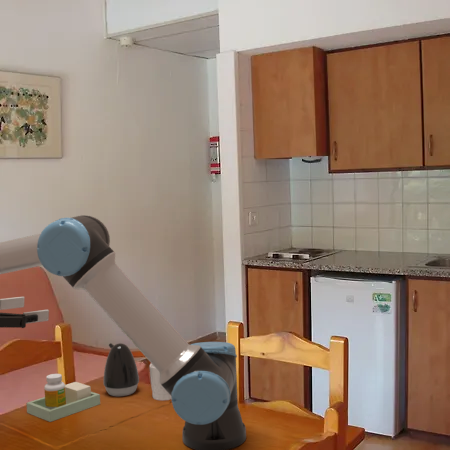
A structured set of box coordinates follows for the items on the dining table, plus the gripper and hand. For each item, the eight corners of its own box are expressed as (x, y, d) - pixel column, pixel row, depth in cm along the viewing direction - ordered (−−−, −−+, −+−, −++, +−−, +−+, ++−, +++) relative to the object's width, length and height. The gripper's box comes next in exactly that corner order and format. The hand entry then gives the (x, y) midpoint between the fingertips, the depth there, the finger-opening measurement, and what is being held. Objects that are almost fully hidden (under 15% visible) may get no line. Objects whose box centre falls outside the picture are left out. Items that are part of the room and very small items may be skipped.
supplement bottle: (60, 415, 168) (58, 379, 167) (42, 414, 169) (39, 378, 168) (69, 407, 173) (67, 372, 172) (51, 406, 174) (49, 372, 173)
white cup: (145, 399, 179) (143, 365, 179) (166, 392, 185) (164, 358, 184) (163, 405, 174) (162, 370, 173) (184, 397, 180) (183, 363, 179)
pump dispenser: (126, 386, 192) (124, 337, 191) (146, 394, 184) (144, 342, 183) (97, 395, 185) (94, 343, 184) (116, 403, 177) (114, 350, 176)
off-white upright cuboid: (91, 404, 175) (90, 386, 175) (77, 408, 172) (76, 390, 171) (76, 398, 180) (75, 381, 179) (62, 403, 176) (61, 385, 176)
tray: (100, 406, 175) (99, 394, 175) (50, 424, 163) (49, 411, 163) (76, 398, 182) (76, 386, 182) (27, 415, 170) (26, 402, 170)
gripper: (-68, 319, 159) (13, 310, 173) (-29, 349, 141) (58, 335, 155) (-67, 290, 158) (15, 283, 172) (-28, 317, 140) (59, 306, 154)
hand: (35, 308), depth 164 cm, fingers open, 13 cm apart
